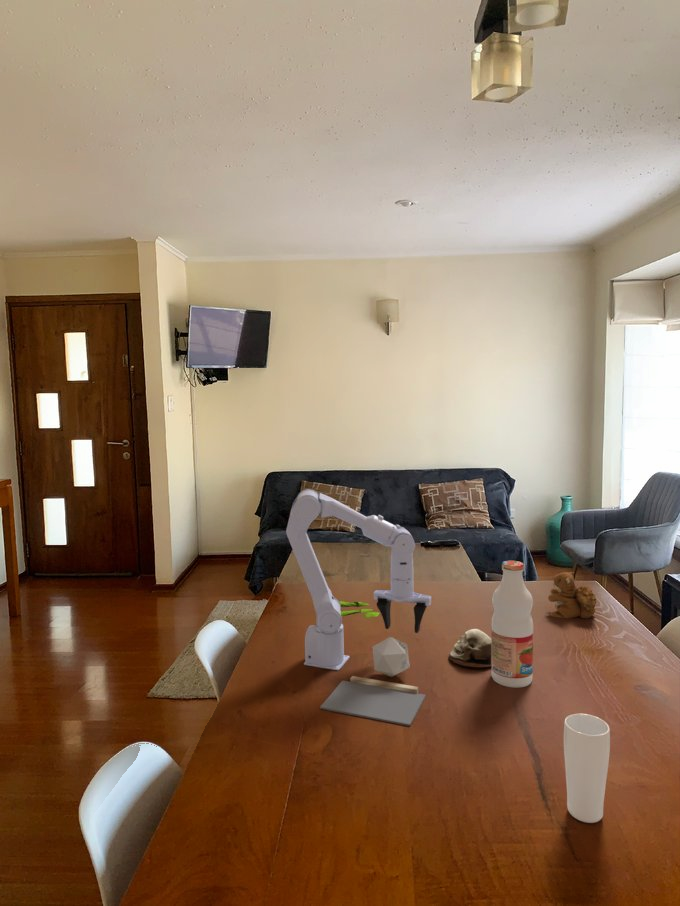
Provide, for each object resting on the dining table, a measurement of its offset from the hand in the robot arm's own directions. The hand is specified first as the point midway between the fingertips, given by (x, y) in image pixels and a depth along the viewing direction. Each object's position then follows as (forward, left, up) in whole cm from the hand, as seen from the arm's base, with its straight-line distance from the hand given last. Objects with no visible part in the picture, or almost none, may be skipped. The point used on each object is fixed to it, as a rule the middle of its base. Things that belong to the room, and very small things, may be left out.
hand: (402, 629), depth 153 cm
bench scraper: (0, -23, -8) cm, 24 cm away
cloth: (-26, +29, -9) cm, 40 cm away
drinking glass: (+43, -44, -8) cm, 62 cm away
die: (0, -10, -8) cm, 13 cm away
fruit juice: (+27, -1, -8) cm, 28 cm away
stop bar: (0, -16, -8) cm, 18 cm away
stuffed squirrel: (+40, +47, -8) cm, 62 cm away
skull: (+17, +2, -10) cm, 20 cm away
